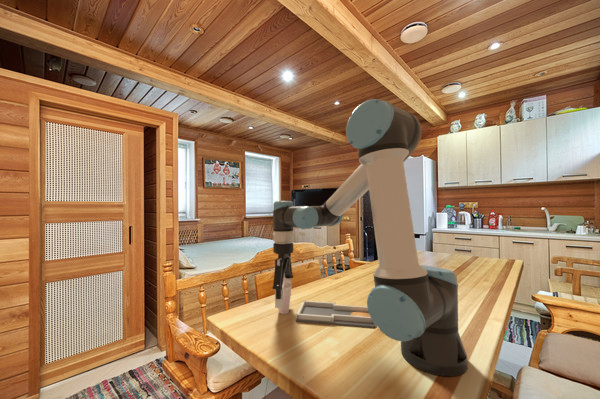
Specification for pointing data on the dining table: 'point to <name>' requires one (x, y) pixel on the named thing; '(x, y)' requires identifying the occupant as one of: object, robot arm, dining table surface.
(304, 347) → the dining table surface
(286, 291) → the smoothie
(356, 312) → the keyhole plate
